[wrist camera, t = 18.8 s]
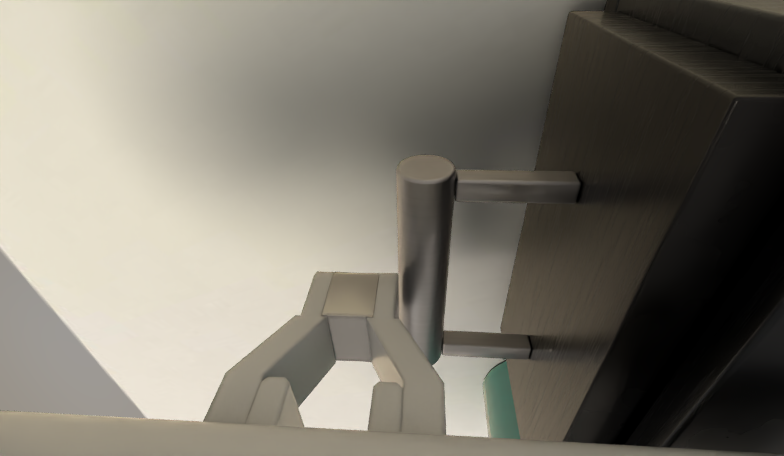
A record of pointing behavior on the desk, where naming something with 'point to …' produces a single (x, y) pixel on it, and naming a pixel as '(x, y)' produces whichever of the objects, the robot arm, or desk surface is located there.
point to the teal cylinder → (500, 404)
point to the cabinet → (749, 295)
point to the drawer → (609, 224)
